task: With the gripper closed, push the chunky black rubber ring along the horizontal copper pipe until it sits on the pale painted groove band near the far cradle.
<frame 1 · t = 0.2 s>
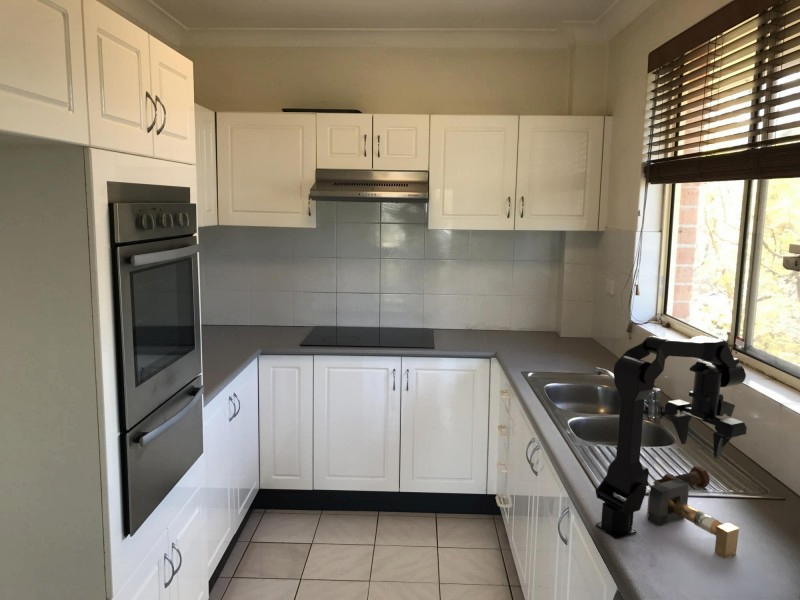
hand: (699, 450, 147), 14 cm above the worktop, tool pointing down, fingers open, 9 cm apart
bolt: (678, 490, 158), on the worktop
pipe: (688, 532, 137), on the worktop
ring: (668, 502, 141), point 5 cm above the worktop, slide at 0.0 cm
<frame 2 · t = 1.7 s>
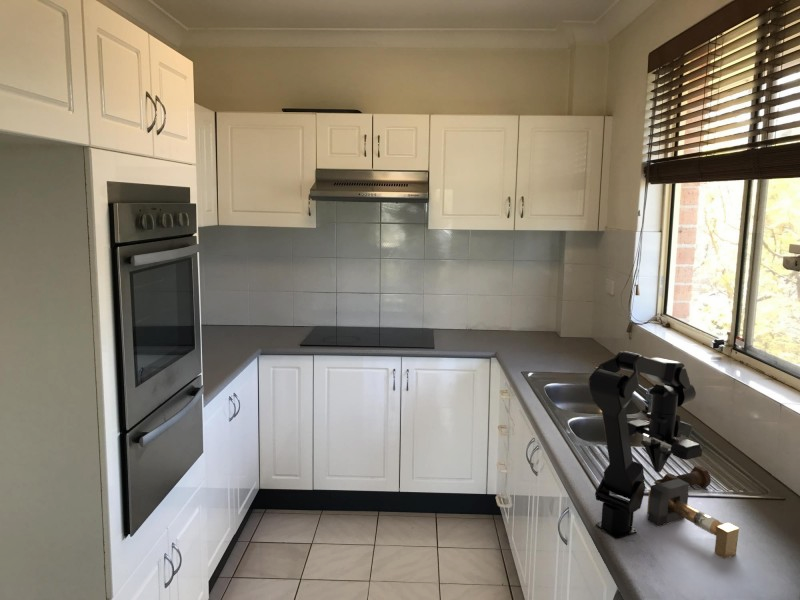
hand: (658, 471, 148), 9 cm above the worktop, tool pointing down, fingers closed
nothing on the worktop moved.
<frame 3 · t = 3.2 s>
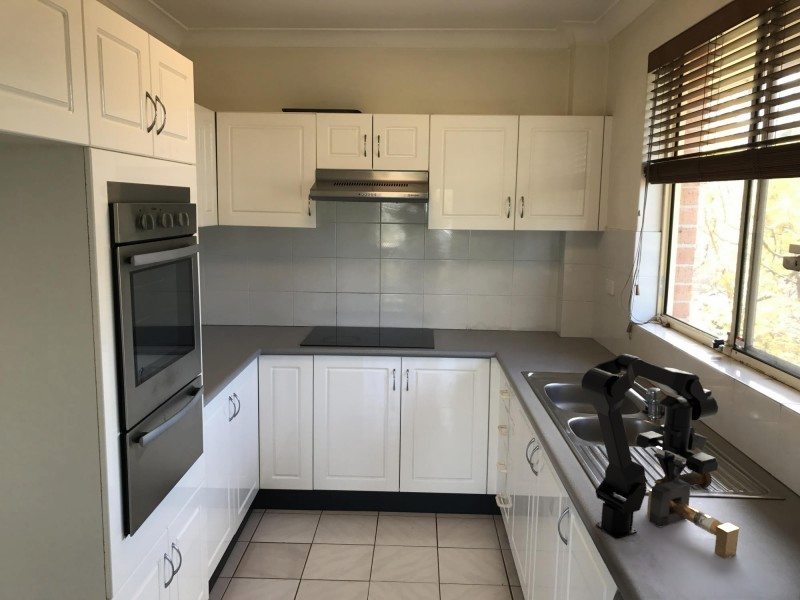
hand: (671, 485, 145), 7 cm above the worktop, tool pointing down, fingers closed
ring: (669, 502, 141), point 5 cm above the worktop, slide at 0.4 cm, touching gripper
everything else where it was.
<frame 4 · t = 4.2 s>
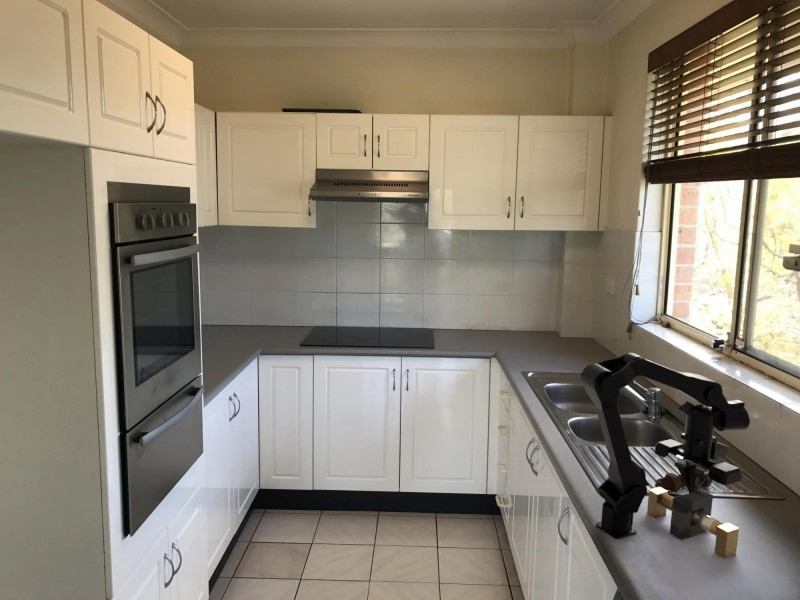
hand: (692, 495, 139), 7 cm above the worktop, tool pointing down, fingers closed
ring: (691, 514, 136), point 5 cm above the worktop, slide at 6.2 cm, touching gripper
everything else where it was.
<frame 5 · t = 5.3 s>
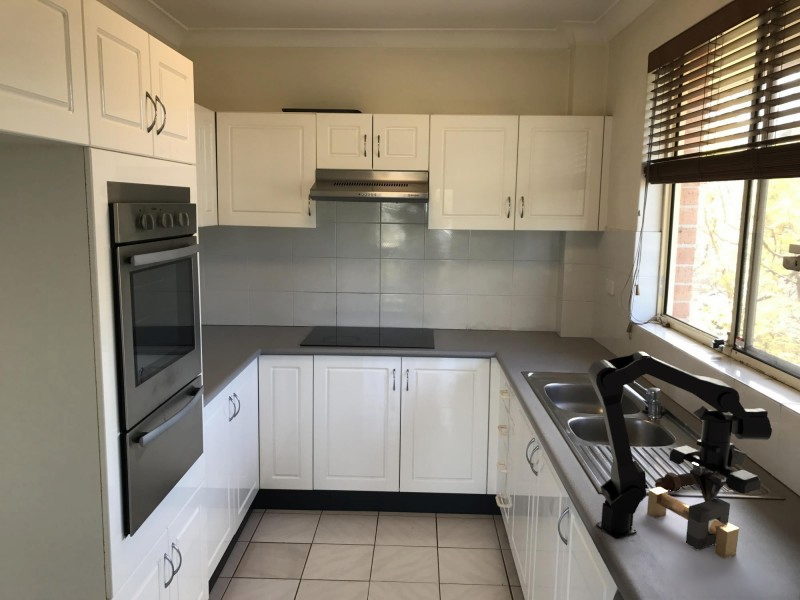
hand: (708, 503, 136), 7 cm above the worktop, tool pointing down, fingers closed
ring: (707, 523, 132), point 5 cm above the worktop, slide at 10.4 cm, touching gripper
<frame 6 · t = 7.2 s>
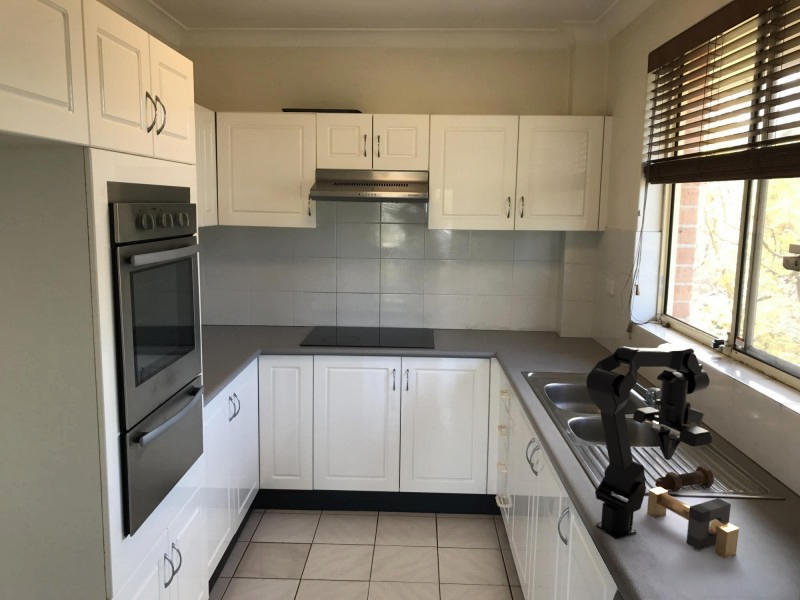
hand: (667, 459, 146), 13 cm above the worktop, tool pointing down, fingers closed
ring: (708, 523, 132), point 5 cm above the worktop, slide at 10.5 cm
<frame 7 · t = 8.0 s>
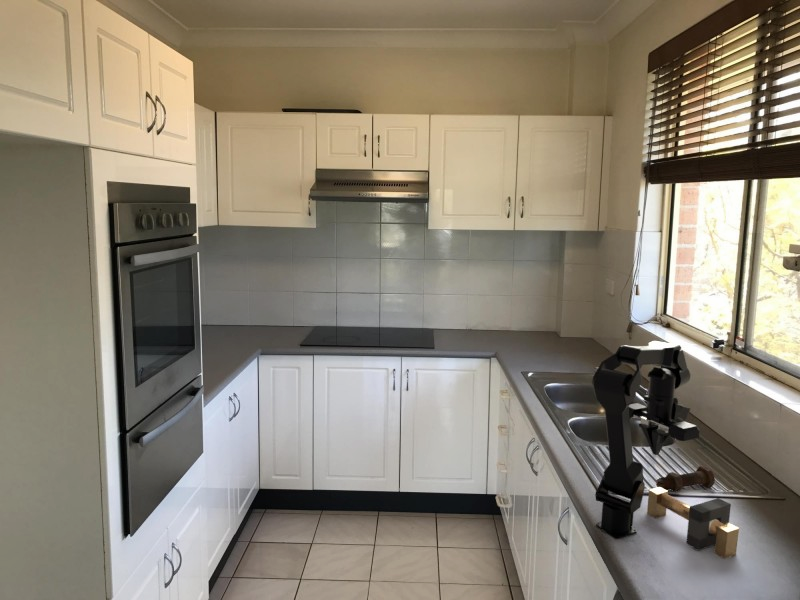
hand: (655, 454, 149), 12 cm above the worktop, tool pointing down, fingers closed
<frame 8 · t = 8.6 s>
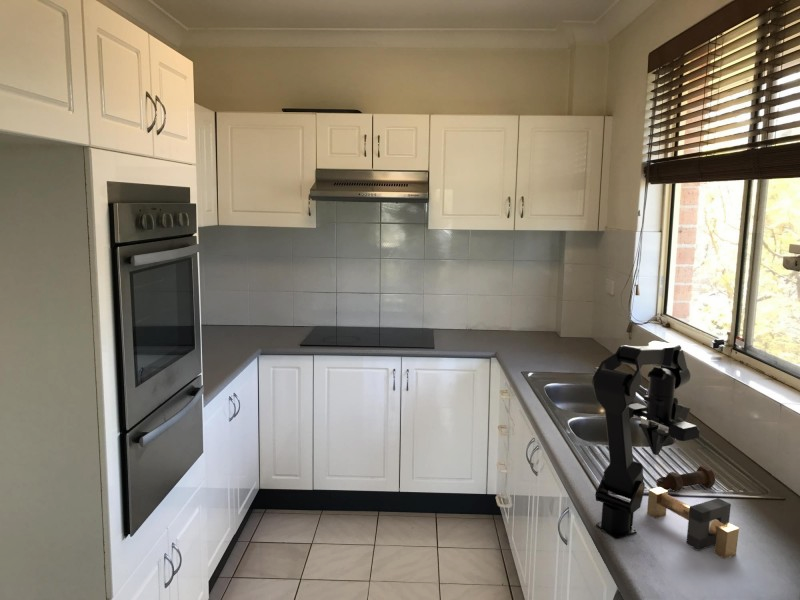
hand: (655, 454, 149), 12 cm above the worktop, tool pointing down, fingers closed
at the end: ring slide at 10.5 cm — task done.
